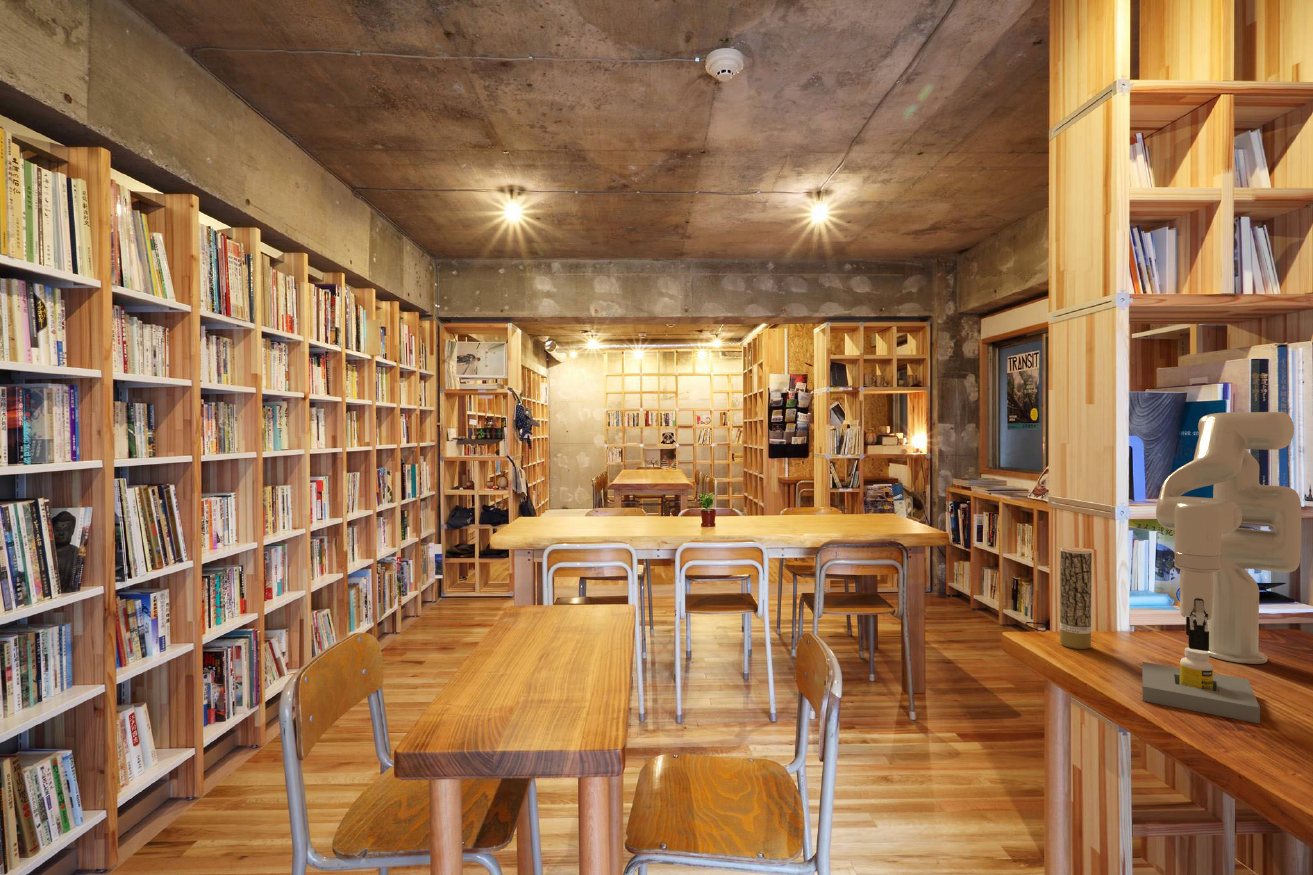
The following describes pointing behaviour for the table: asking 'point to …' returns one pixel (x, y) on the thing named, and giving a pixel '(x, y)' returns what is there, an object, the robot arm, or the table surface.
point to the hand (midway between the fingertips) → (1197, 642)
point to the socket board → (1200, 693)
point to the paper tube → (1075, 597)
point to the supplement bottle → (1196, 669)
